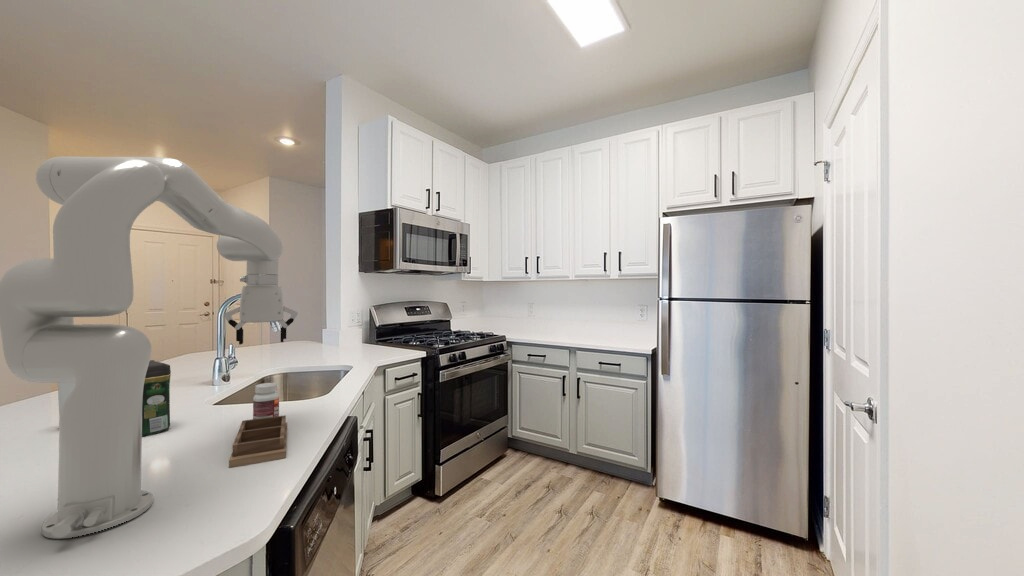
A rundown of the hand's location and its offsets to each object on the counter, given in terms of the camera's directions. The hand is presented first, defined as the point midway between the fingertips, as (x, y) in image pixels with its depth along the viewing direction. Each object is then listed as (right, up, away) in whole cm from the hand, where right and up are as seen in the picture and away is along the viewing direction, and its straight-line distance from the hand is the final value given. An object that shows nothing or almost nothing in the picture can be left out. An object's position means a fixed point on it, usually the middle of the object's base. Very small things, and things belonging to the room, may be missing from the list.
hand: (262, 342), depth 109 cm
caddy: (+9, -23, -14) cm, 28 cm away
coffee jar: (-27, -23, -5) cm, 36 cm away
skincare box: (-47, -23, -2) cm, 52 cm away
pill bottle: (+1, -23, 0) cm, 23 cm away
